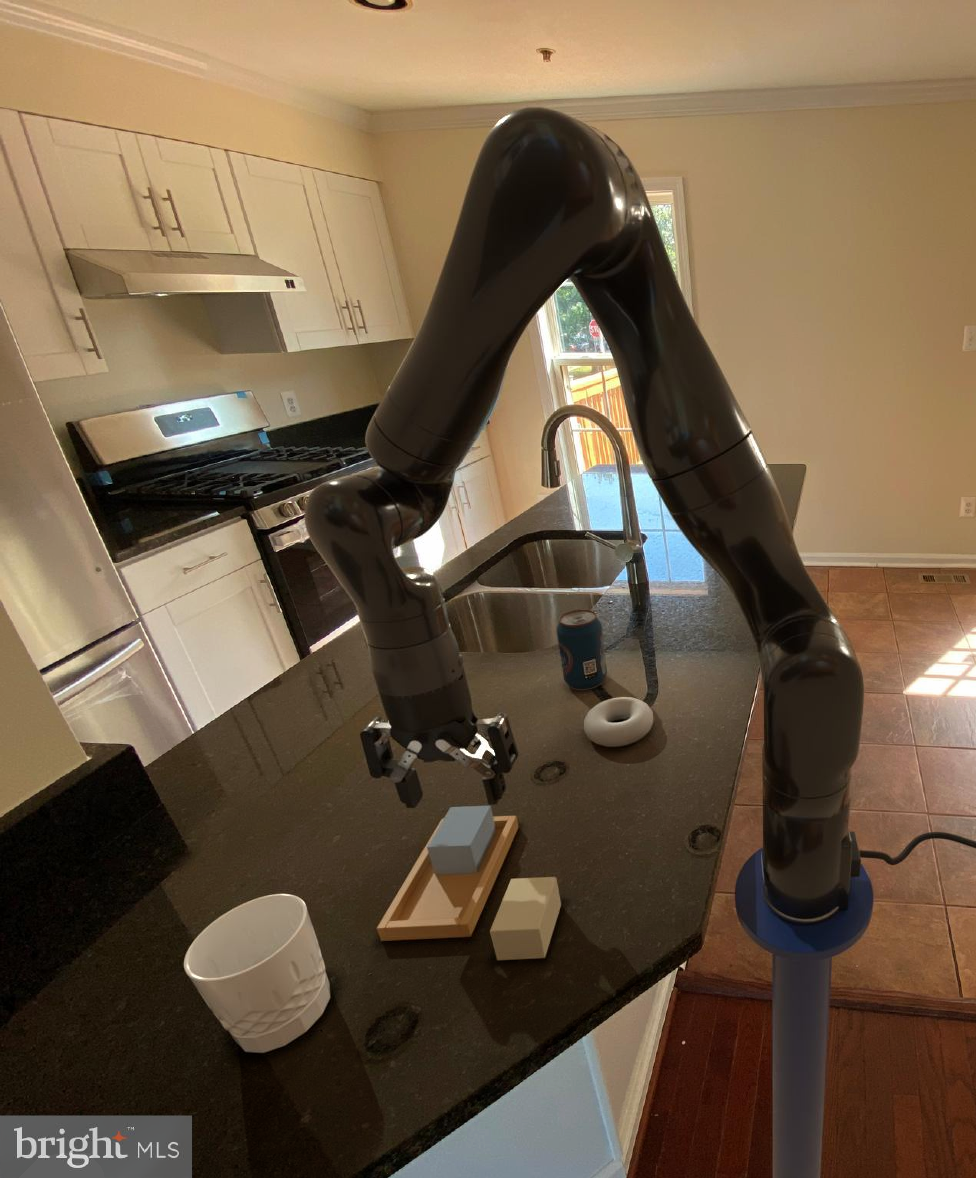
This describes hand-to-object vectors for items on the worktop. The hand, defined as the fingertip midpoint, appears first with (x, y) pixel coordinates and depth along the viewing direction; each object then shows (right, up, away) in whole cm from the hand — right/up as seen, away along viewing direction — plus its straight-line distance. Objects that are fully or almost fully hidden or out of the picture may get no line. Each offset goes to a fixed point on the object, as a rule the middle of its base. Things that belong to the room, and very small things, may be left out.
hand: (456, 801), depth 69 cm
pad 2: (+10, -11, -6) cm, 16 cm away
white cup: (-8, -14, -13) cm, 21 cm away
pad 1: (0, -7, +3) cm, 7 cm away
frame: (0, -9, 0) cm, 9 cm away
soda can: (+2, +7, +37) cm, 38 cm away
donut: (+11, +2, +25) cm, 27 cm away
